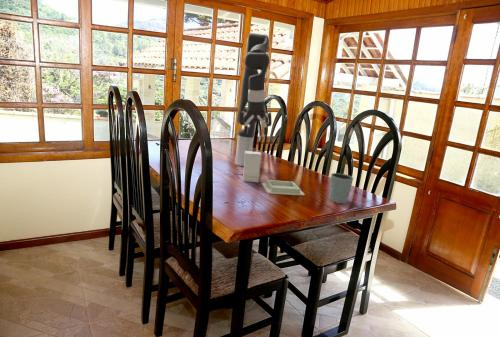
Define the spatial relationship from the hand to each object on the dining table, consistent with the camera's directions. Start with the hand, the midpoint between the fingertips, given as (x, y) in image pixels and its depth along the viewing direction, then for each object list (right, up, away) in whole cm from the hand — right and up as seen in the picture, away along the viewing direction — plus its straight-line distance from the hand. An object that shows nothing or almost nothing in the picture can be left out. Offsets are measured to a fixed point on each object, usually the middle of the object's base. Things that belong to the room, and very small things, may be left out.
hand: (255, 134), depth 164 cm
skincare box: (-3, -22, +16) cm, 27 cm away
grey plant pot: (+38, -31, +1) cm, 50 cm away
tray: (+13, -26, +7) cm, 30 cm away
